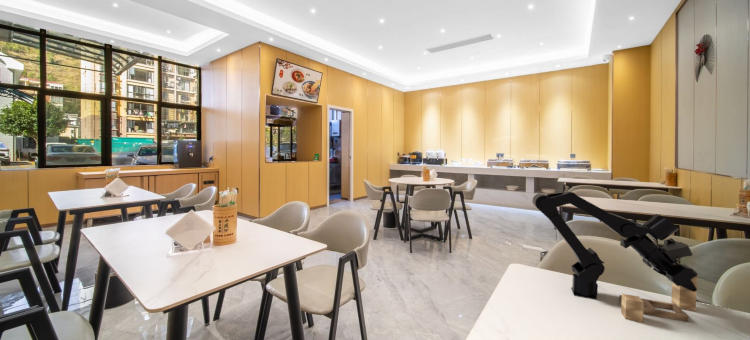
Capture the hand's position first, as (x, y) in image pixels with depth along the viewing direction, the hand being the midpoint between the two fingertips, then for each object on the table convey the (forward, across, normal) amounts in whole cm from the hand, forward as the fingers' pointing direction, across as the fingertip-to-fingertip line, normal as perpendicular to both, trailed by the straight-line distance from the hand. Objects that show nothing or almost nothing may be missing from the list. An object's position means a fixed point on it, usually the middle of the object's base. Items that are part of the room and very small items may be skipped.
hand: (689, 287), depth 94 cm
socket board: (-4, -6, +13) cm, 15 cm away
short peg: (-9, -13, +19) cm, 25 cm away
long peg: (+4, 0, +6) cm, 7 cm away
